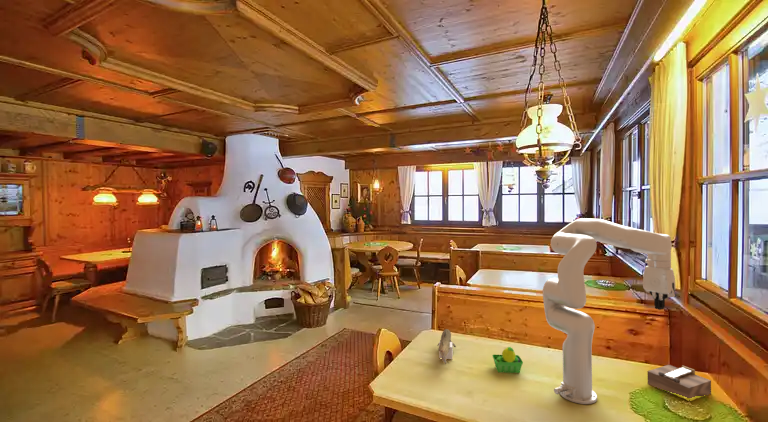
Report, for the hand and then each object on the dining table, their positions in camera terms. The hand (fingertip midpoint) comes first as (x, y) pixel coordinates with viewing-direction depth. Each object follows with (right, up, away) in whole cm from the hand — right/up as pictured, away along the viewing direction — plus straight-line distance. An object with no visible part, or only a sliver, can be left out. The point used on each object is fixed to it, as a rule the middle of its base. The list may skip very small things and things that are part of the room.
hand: (659, 308), depth 146 cm
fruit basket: (-60, -29, +7) cm, 67 cm away
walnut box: (-1, -27, -11) cm, 30 cm away
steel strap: (-2, -22, -11) cm, 25 cm away
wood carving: (-84, -29, +20) cm, 91 cm away
